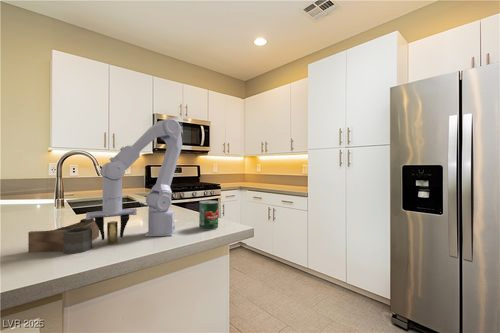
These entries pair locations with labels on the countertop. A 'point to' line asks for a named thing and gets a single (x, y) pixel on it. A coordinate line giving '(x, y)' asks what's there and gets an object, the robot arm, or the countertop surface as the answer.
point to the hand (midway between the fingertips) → (112, 238)
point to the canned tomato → (208, 215)
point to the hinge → (63, 239)
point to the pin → (112, 232)
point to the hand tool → (77, 225)
